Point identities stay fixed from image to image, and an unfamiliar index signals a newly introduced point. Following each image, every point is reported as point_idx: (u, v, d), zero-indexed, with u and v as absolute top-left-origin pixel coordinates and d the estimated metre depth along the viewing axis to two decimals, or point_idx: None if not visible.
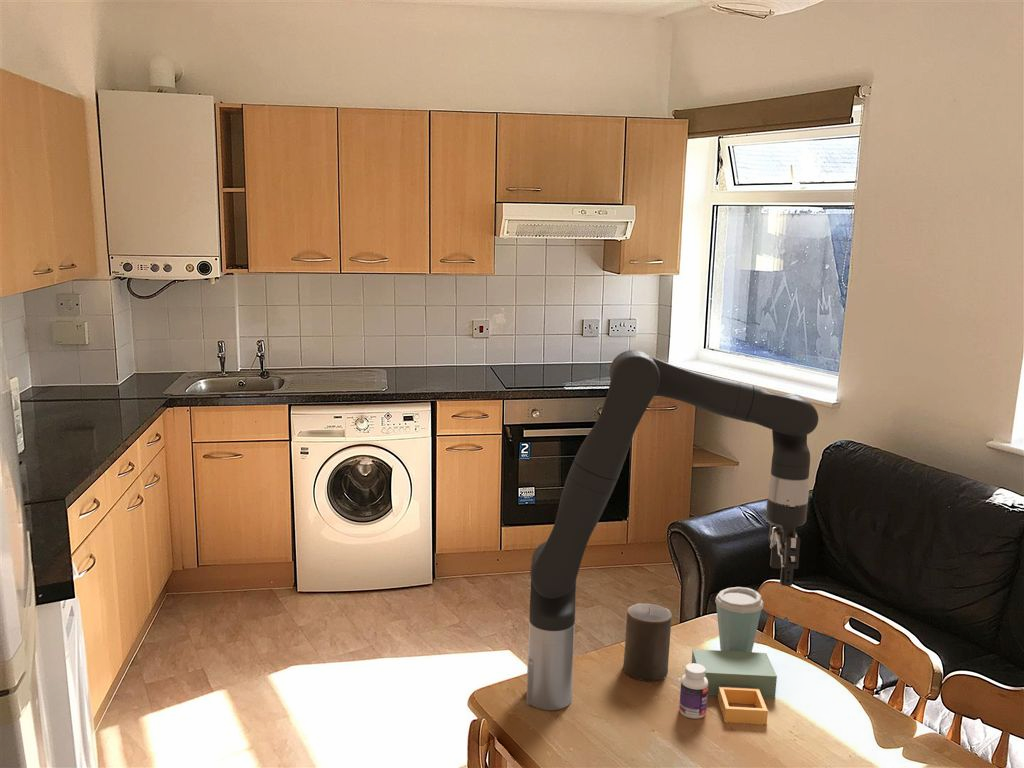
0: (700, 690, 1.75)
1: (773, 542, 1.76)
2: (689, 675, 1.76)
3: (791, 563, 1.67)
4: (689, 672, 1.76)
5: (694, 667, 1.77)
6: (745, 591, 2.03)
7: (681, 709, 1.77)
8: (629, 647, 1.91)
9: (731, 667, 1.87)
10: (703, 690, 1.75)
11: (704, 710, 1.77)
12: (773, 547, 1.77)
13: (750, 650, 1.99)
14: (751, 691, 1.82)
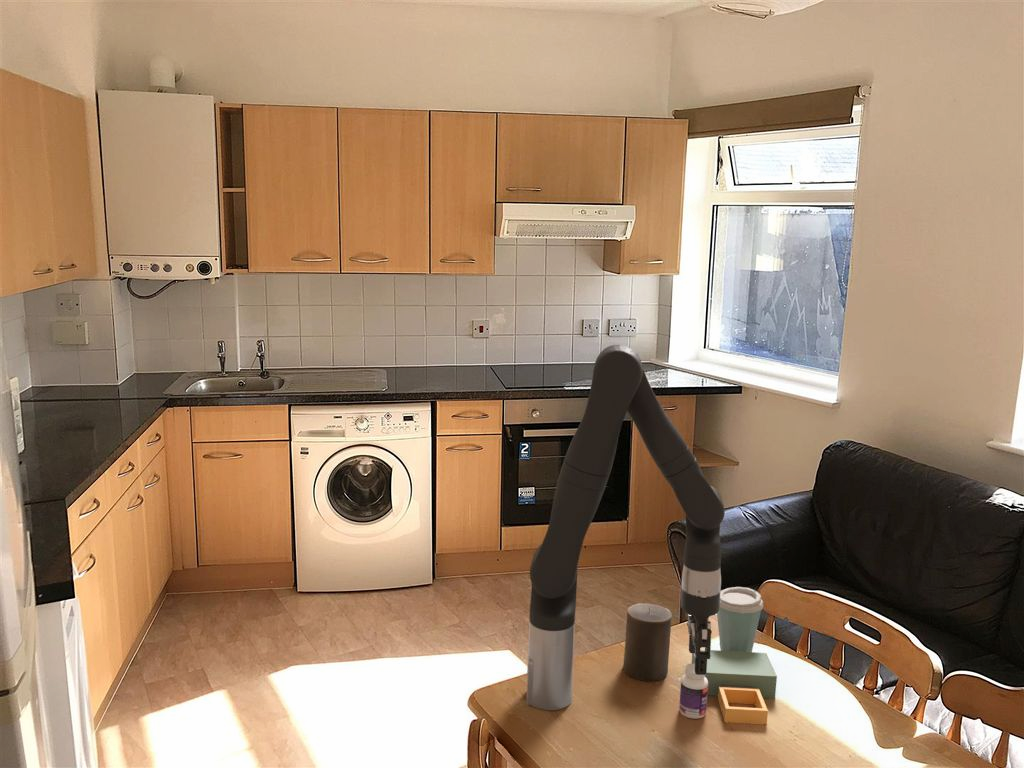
0: (700, 690, 1.75)
1: (690, 628, 1.78)
2: (689, 675, 1.76)
3: (703, 654, 1.69)
4: (689, 672, 1.76)
5: (694, 667, 1.77)
6: (745, 591, 2.03)
7: (681, 709, 1.77)
8: (629, 647, 1.91)
9: (731, 667, 1.87)
10: (703, 690, 1.75)
11: (704, 710, 1.77)
12: (691, 633, 1.80)
13: (750, 650, 1.99)
14: (751, 691, 1.82)
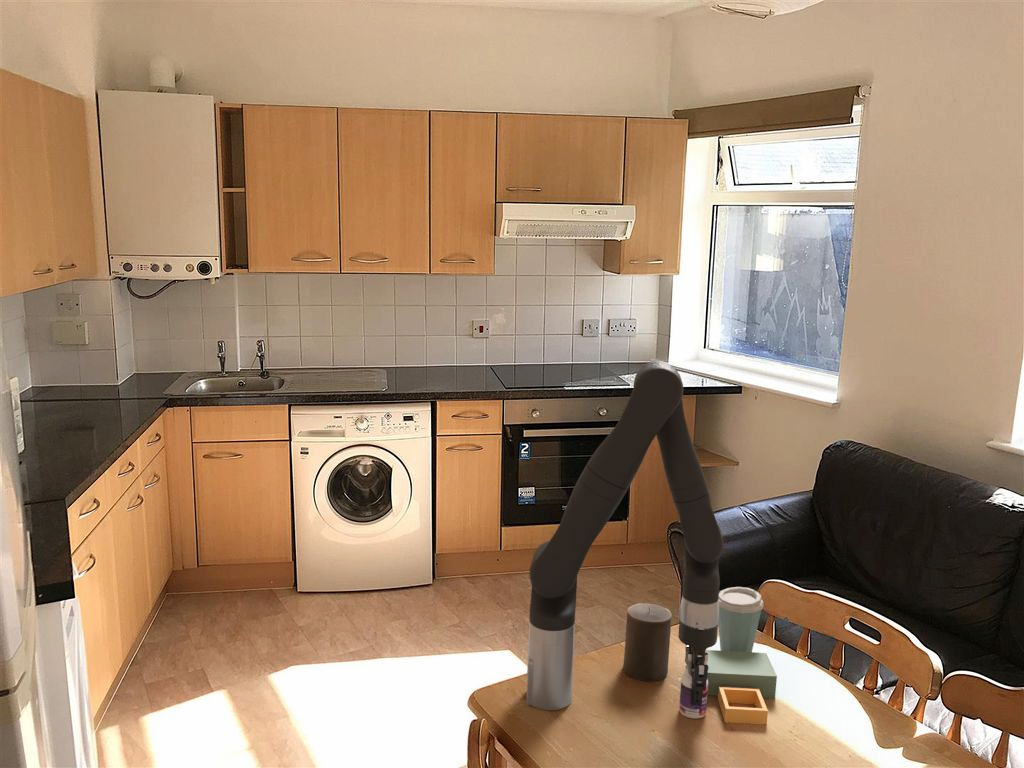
0: None
1: (687, 662, 1.79)
2: (689, 675, 1.76)
3: (699, 686, 1.71)
4: None
5: None
6: (745, 591, 2.03)
7: (681, 709, 1.77)
8: (629, 647, 1.91)
9: (731, 667, 1.87)
10: None
11: (704, 710, 1.77)
12: None
13: (750, 650, 1.99)
14: (751, 691, 1.82)
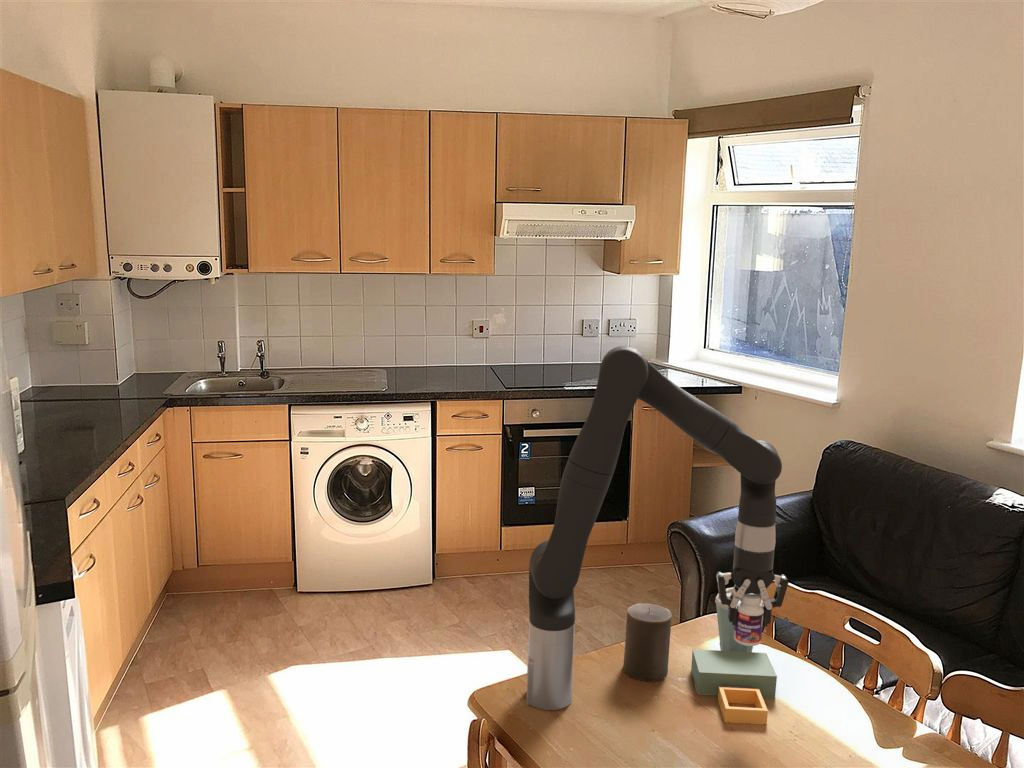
0: (737, 612, 1.74)
1: None
2: None
3: None
4: None
5: (751, 594, 1.74)
6: None
7: None
8: (629, 647, 1.91)
9: (731, 667, 1.87)
10: (739, 613, 1.74)
11: (740, 637, 1.74)
12: None
13: (750, 650, 1.99)
14: (751, 691, 1.82)
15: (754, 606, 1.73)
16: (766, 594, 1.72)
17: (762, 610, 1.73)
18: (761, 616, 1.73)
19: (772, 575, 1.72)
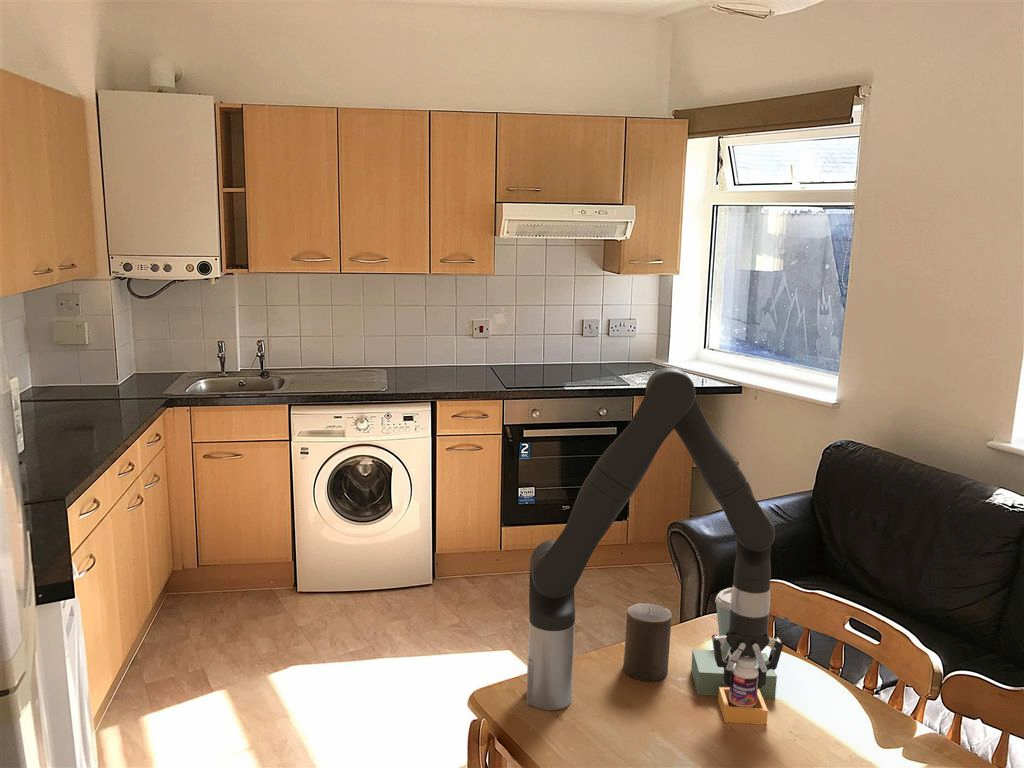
0: (732, 674, 1.77)
1: None
2: None
3: None
4: None
5: (746, 657, 1.77)
6: None
7: None
8: (629, 647, 1.91)
9: None
10: (734, 675, 1.76)
11: (736, 699, 1.77)
12: None
13: None
14: None
15: (749, 669, 1.75)
16: (761, 657, 1.75)
17: (757, 673, 1.76)
18: (756, 679, 1.76)
19: (767, 638, 1.75)
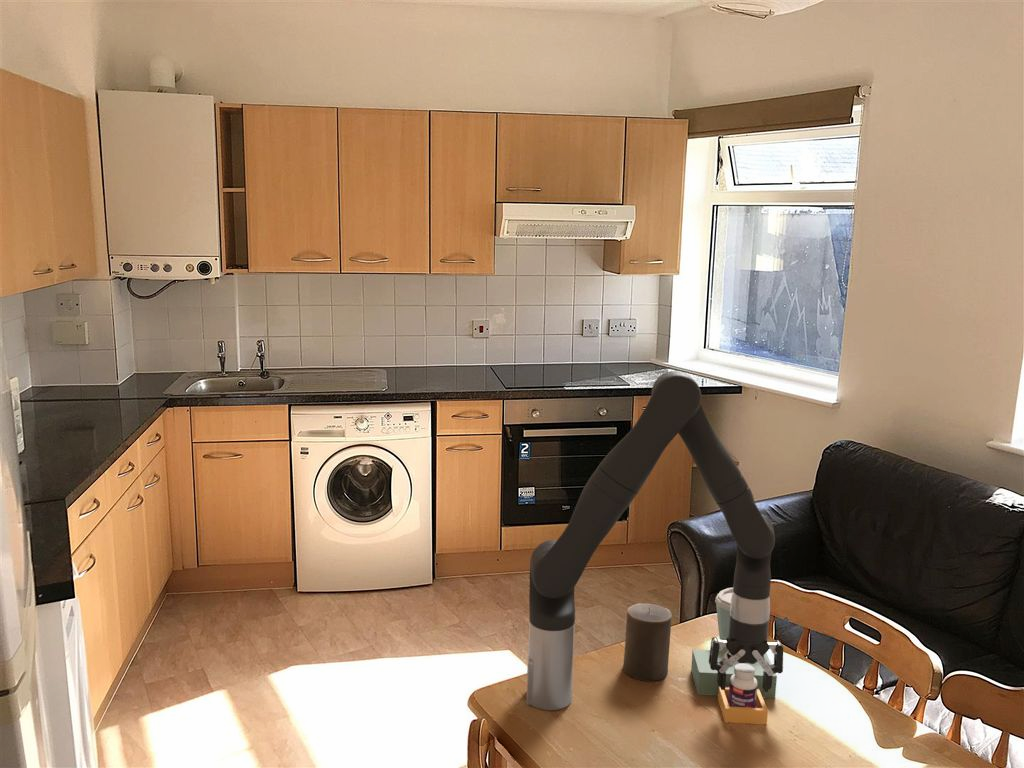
0: (731, 685, 1.77)
1: None
2: None
3: (711, 662, 1.78)
4: None
5: (745, 667, 1.77)
6: None
7: None
8: (629, 647, 1.91)
9: (731, 667, 1.87)
10: (733, 686, 1.77)
11: None
12: None
13: None
14: None
15: (748, 680, 1.76)
16: (764, 662, 1.75)
17: (756, 684, 1.76)
18: (755, 690, 1.76)
19: (766, 644, 1.75)
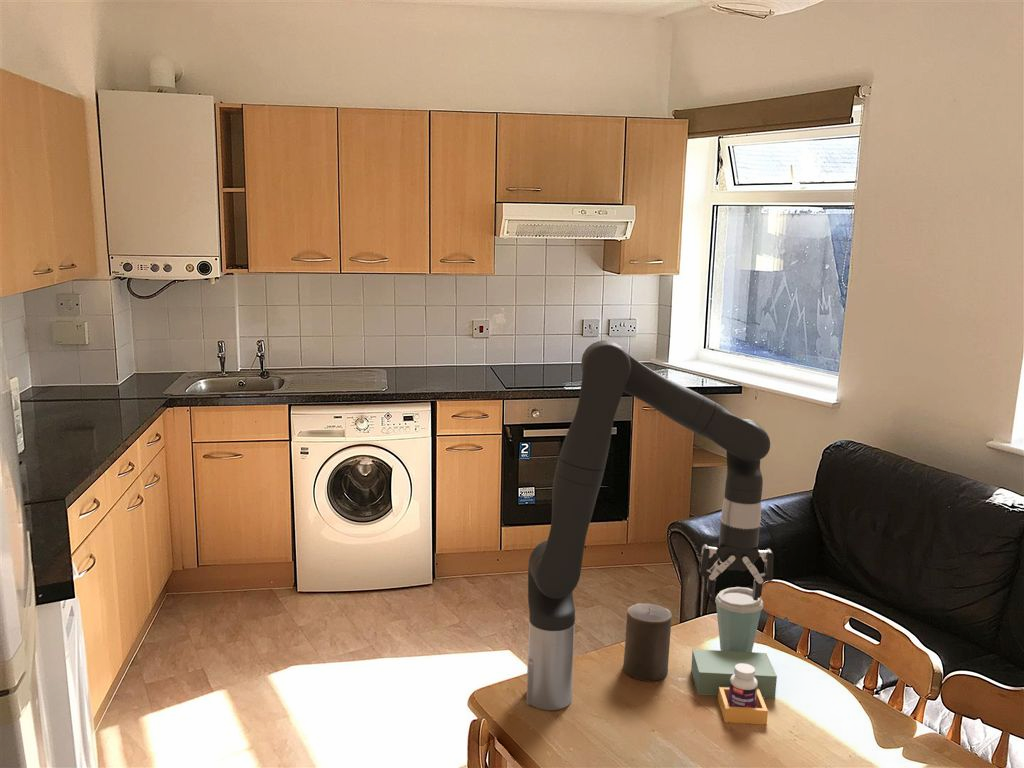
0: (731, 685, 1.77)
1: None
2: None
3: (701, 569, 1.77)
4: None
5: (745, 667, 1.77)
6: (745, 591, 2.03)
7: None
8: (629, 647, 1.91)
9: (731, 667, 1.87)
10: (733, 686, 1.77)
11: None
12: None
13: (750, 650, 1.99)
14: None
15: (748, 680, 1.76)
16: (754, 569, 1.75)
17: (756, 684, 1.76)
18: (755, 690, 1.76)
19: (756, 552, 1.75)
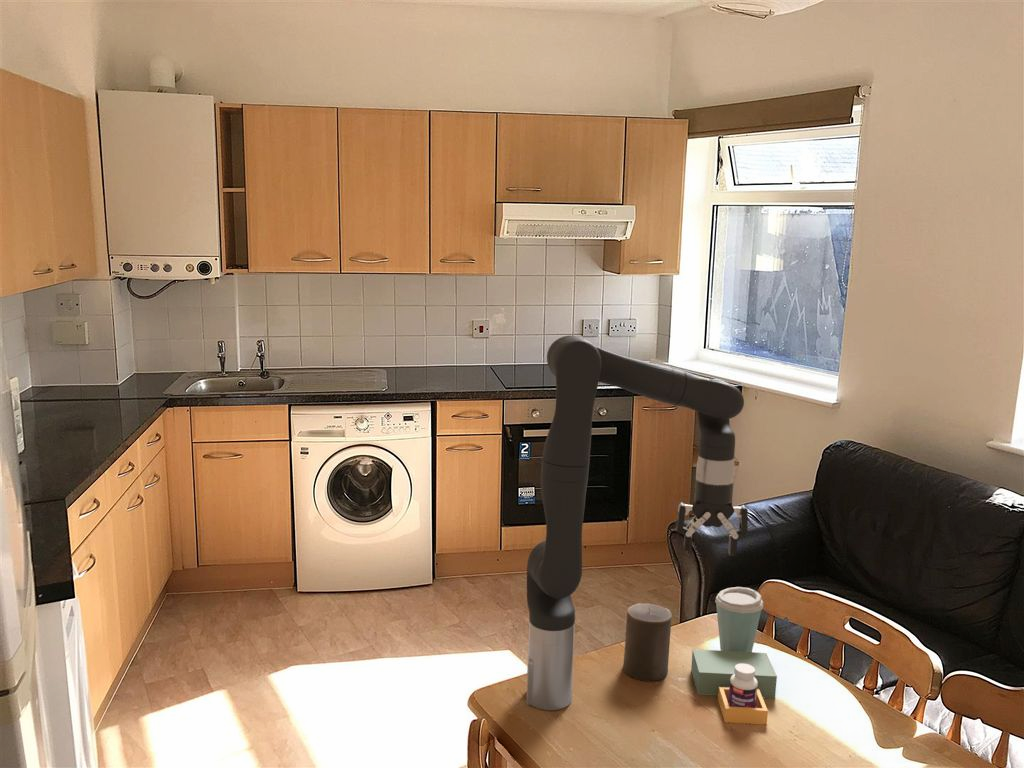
0: (731, 685, 1.77)
1: None
2: None
3: None
4: None
5: (745, 668, 1.77)
6: (745, 591, 2.03)
7: None
8: (629, 647, 1.91)
9: (731, 667, 1.87)
10: (733, 686, 1.77)
11: None
12: None
13: (750, 650, 1.99)
14: None
15: (748, 680, 1.76)
16: (729, 525, 1.79)
17: (756, 684, 1.76)
18: (755, 690, 1.76)
19: (731, 508, 1.79)
